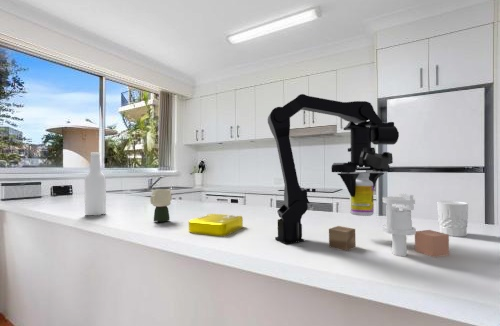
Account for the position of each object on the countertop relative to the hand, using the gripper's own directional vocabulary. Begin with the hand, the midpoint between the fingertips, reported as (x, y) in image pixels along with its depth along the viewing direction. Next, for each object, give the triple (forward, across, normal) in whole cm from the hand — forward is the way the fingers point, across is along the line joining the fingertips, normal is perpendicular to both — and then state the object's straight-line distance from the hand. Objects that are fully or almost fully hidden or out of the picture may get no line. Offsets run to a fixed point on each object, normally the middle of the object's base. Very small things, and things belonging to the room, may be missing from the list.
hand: (361, 196), depth 79 cm
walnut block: (+13, -11, -3) cm, 17 cm away
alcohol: (+14, -77, +90) cm, 119 cm away
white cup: (+13, +29, -10) cm, 33 cm away
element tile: (+14, -35, +33) cm, 50 cm away
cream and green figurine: (+14, -50, +56) cm, 77 cm away
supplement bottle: (+6, 0, 0) cm, 6 cm away
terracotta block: (+13, +5, -17) cm, 22 cm away
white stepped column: (+13, -3, -14) cm, 20 cm away
